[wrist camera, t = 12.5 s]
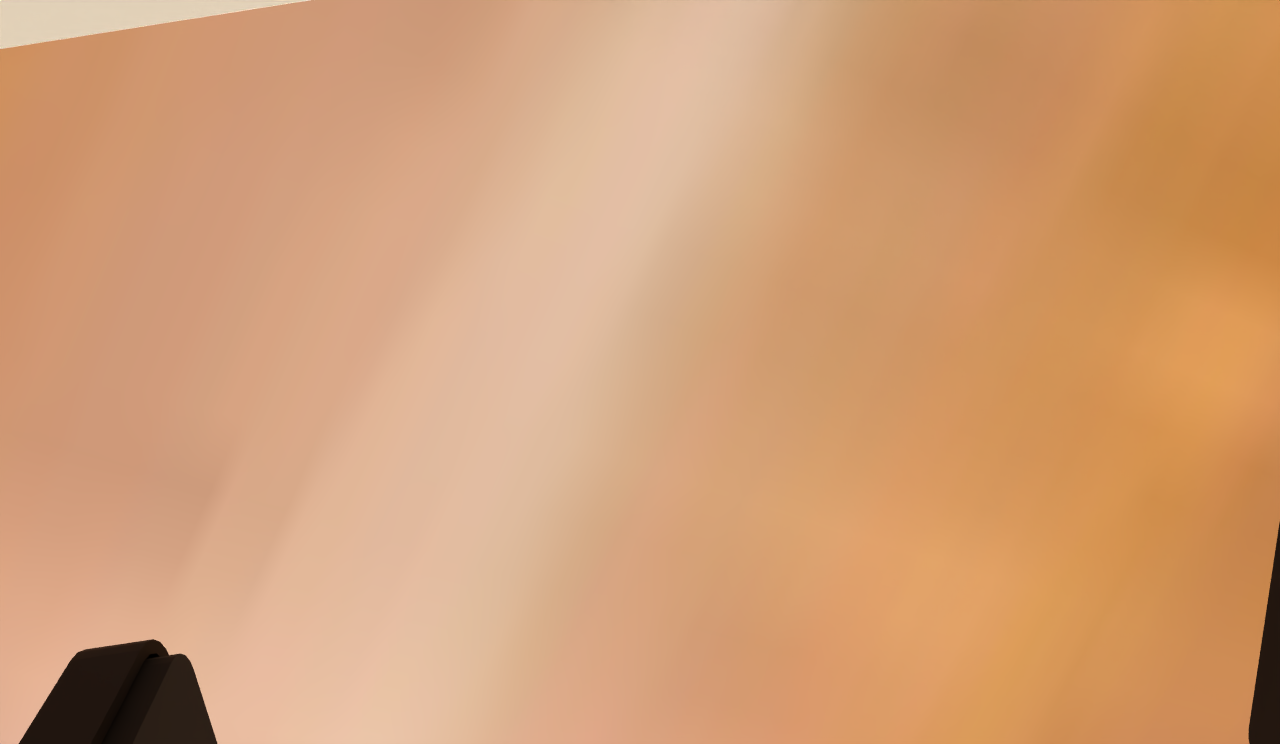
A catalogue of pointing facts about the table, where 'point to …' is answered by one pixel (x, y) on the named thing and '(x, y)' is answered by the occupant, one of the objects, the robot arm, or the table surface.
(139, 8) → the cabinet base
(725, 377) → the table surface
